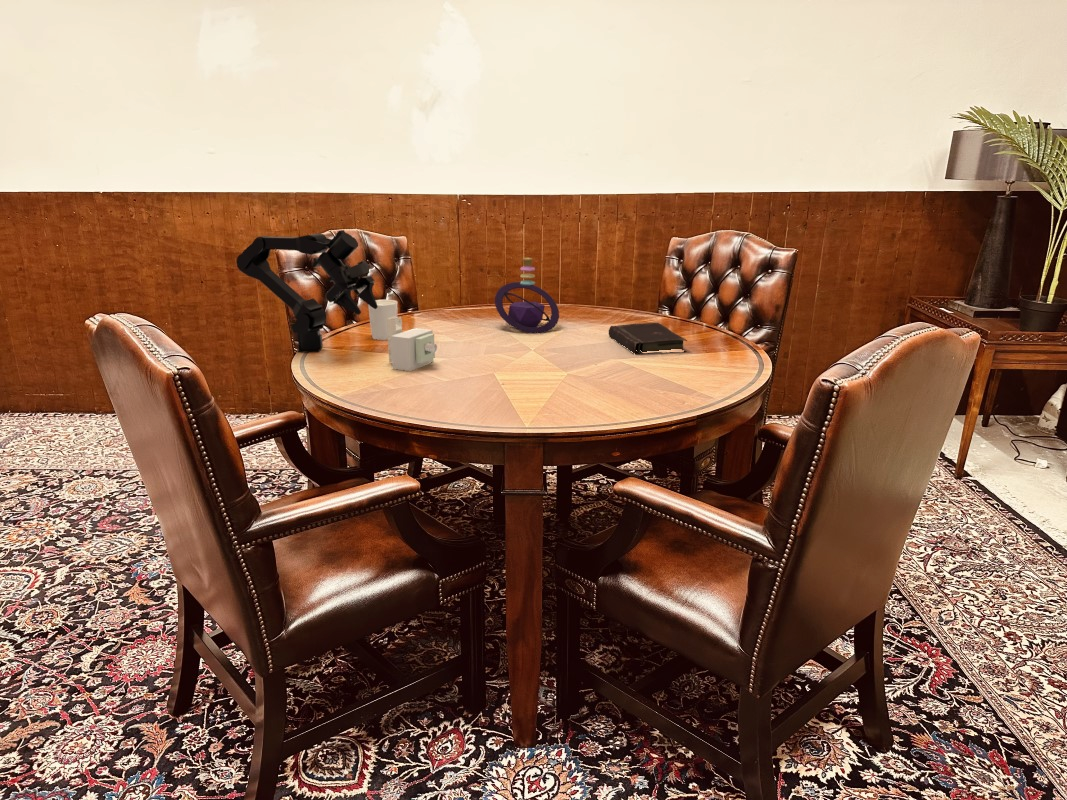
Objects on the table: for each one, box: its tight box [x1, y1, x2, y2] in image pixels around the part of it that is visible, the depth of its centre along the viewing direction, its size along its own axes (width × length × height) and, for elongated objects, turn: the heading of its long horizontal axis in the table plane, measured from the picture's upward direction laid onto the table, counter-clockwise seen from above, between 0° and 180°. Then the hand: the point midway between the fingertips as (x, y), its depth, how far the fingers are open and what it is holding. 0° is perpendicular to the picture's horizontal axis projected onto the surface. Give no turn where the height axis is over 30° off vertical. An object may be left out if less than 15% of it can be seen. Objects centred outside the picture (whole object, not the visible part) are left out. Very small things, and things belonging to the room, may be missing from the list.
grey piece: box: [387, 316, 438, 363], centre depth 208 cm, size 15×3×13 cm, turn 64°
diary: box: [608, 322, 688, 354], centre depth 237 cm, size 19×25×5 cm
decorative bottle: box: [494, 257, 560, 334], centre depth 255 cm, size 22×21×25 cm
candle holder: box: [367, 299, 398, 341], centre depth 242 cm, size 10×10×12 cm
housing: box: [391, 327, 435, 372], centre depth 208 cm, size 6×12×10 cm, turn 154°
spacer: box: [416, 334, 436, 363], centre depth 206 cm, size 2×7×7 cm, turn 154°
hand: (368, 310), depth 215 cm, fingers open, 9 cm apart
